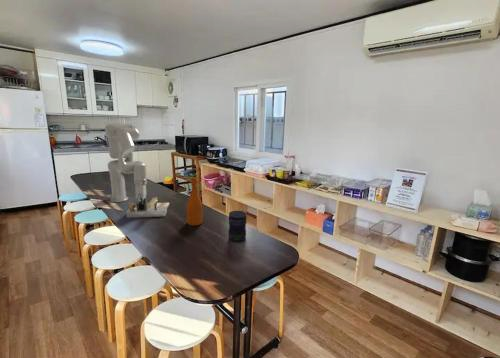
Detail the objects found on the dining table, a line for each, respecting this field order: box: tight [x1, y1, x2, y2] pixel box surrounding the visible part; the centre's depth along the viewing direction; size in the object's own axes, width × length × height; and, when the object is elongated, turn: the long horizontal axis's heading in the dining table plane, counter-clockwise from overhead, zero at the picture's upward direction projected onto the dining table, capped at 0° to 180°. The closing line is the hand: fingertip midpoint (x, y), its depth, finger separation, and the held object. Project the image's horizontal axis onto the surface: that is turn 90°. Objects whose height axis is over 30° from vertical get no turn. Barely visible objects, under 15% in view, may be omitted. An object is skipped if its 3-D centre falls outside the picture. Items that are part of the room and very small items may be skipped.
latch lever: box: [148, 196, 158, 208], centre depth 162 cm, size 15×2×2 cm, turn 6°
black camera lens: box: [228, 210, 247, 244], centre depth 138 cm, size 10×10×15 cm
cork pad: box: [153, 202, 170, 209], centre depth 186 cm, size 11×11×1 cm
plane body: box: [126, 201, 168, 219], centre depth 169 cm, size 24×9×9 cm, turn 100°
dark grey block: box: [135, 200, 149, 211], centre depth 168 cm, size 6×5×5 cm
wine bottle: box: [185, 176, 204, 227], centre depth 155 cm, size 10×10×30 cm
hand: (142, 207), depth 168 cm, fingers closed on dark grey block, 5 cm apart
